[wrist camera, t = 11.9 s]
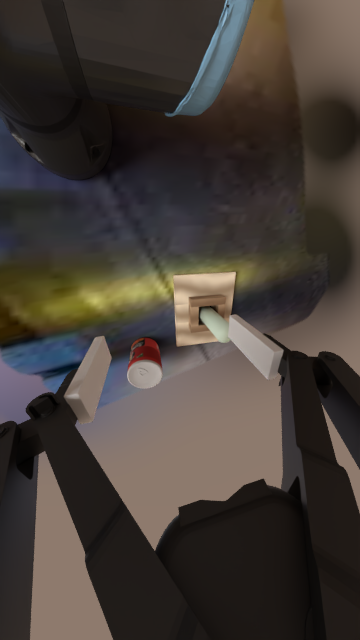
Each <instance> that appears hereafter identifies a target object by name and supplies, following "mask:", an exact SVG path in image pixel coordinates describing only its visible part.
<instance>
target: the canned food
mask: <svg viewBox="0 0 360 640" xmlns="http://www.w3.org/2000/svg"><path fill="white" fill-rule="evenodd" d="M162 374H163V372H162V364H161V357H160V351H159V346H158V344H157V343H156V342H155V341H154V340H153V339H151V338H140V339H138V340H136V341H135V342H134V343H133V345H132V347H131V353H130V359H129V365H128V373H127V376H128V380H129V382H130V383H131V384H132V385H133V386H135V387H138V388H151V387H153V386H155V385H157V384H158V383H159V382H160V381H161V379H162Z"/></svg>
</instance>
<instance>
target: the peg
mask: <svg viewBox="0 0 360 640" xmlns="http://www.w3.org/2000/svg"><path fill="white" fill-rule="evenodd" d="M199 318H200V319H201V320H202V321H203V322H204V324H205V325H206V326H207V327H208V328H209V330H210V331H211V332H212V333H213V335H214V336H215V337H216V338H217V339H218V340H219V341H220V342H222V343H226V342H229V341H230V340H231V339H230V338H229V337H228V331H229V323H228V322H227V321H226V320H225V319H224V318H223V317H221V316H220V315H219V314H218V313H217V312H215V311H214V310H213V309H212V308H211V307H209V306H202V307H199Z"/></svg>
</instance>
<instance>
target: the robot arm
mask: <svg viewBox="0 0 360 640" xmlns="http://www.w3.org/2000/svg"><path fill="white" fill-rule="evenodd" d="M253 3H254V0H0V117H1V118H2V120H3V122H4V123H5V125H6V127H7V128H8V130H9V131H10V133H11V134H12V136H13V137H14V138H15V140H16V141H17V142H18V143H19V144H20V146H21V147H22V148H23V149H24V150H25V151H26V152H27V153H28V154H29V155H30V156H31V157H32V158H34V159H35V160H36V161H37V162H38V163H40V164H41V165H42V166H43V167H45V168H46V169H48V170H49V171H51V172H52V173H54V174H56V175H58V176H61V177H64V178H67V179H72V180H83V179H87V178H90V177H93V176H94V175H96V174H97V173H99V172H100V171H101V170H102V169H103V167H104V166H105V164H106V163H107V161H108V159H109V156H110V153H111V148H112V139H113V134H112V124H111V118H110V114H109V110H108V106H107V104H113V105H119V106H125V107H132V108H138V109H144V110H150V111H157V112H163V113H164V114H165V115H166V116H169V117H172V116H175V115H177V114H178V115H189V116H197V115H200V114H202V113H203V112H204V111H205V110H206V109H208V108H209V107H210V106H211V105H212V103H213V102H214V100H215V99H216V98H217V96H218V94H219V92H220V91H221V89H222V87H223V85H224V83H225V81H226V78H227V76H228V74H229V72H230V69H231V67H232V64H233V62H234V59H235V57H236V54H237V51H238V49H239V46H240V43H241V40H242V37H243V34H244V31H245V28H246V25H247V22H248V19H249V16H250V13H251V9H252V6H253ZM228 337H229V338H230V339H231V340H232V341H233V343H234V344H235V345H236V346H237V347H238V348H239V349H240V350H241V351H242V352H243V353H244V354H245V356H246V357H247V358H248V359H249V360H250V361H251V362H252V363H253V364H254V366H255V367H256V368H257V369H258V370H259V371H260V372H261V373H262V374H263V375H264V376H265V378H266V379H267V380H269V379H273V378H276V377H277V373H280V375H282V376H281V379H280V382H279V386H280V385H281V412H282V451H283V478H282V485H281V489H279V488H276V487H273V486H269V485H267V484H266V482H265V481H264V479H261V480H258V481H255V482H252V483H249V484H246V485H244V486H243V487H241V489H239V490H238V491H237V492H236V493H235V494H233V495H232V496H231V497H230V498H229V499H228V500H226V501H209V500H199V501H196V502H193V503H190V504H187V505H184V506H181V507H179V515H178V516H177V517H175V518H174V519H173V520H172V522H171V523H170V524H169V525H168V527H167V528H166V529H165V531H164V533H163V535H162V536H161V538H160V540H159V543H158V545H157V547H156V550H155V551H154V549H153V548H152V546H151V545H150V543H149V542H148V540H147V538H146V537H145V535H144V534H143V532H142V531H141V529H140V527H139V526H138V524H137V523H136V521H135V520H134V518H133V516H132V515H131V513H130V512H129V510H128V509H127V507H126V505H125V504H124V503H123V501H122V499H121V498H120V496H119V494H118V493H117V491H116V490H115V488H114V487H113V485H112V483H111V482H110V481H109V479H108V477H107V476H106V474H105V472H104V471H103V469H102V468H101V466H100V465H99V463H98V462H97V460H96V458H95V457H94V455H93V454H92V452H91V451H90V449H89V447H88V446H87V444H86V442H85V441H84V439H83V438H82V436H81V435H80V433H79V432H78V430H77V429H76V427H75V424H76V421H77V419H78V421H79V423H80V424H84V423H89V422H92V421H93V419H94V416H95V412H96V409H97V405H98V402H99V399H100V395H101V392H102V389H103V385H104V382H105V378H106V375H107V372H108V368H109V365H110V362H111V355H110V352H109V350H108V347H107V344H106V341H105V338H104V336H100V337H95V339H94V341H93V343H92V345H91V346H90V348H89V350H88V352H87V354H86V356H85V358H84V359H83V361H82V363H81V365H80V367H79V369H75V370H72V371H71V372H70V373H69V374H68V375H67V376H66V377H65V379H64V381H63V382H62V384H61V387H59V389H58V391H57V392H56V394H54V393H52V392H48V393H44V394H42V395H40V396H38V397H36V398H35V399H33V400H32V401H31V402H30V403H29V404H28V406H27V408H26V413H27V414H28V415H29V416H30V418H31V419H29V420H27V421H25V422H23V423H21V424H18V425H17V423H16V422H14V421H8V422H5V423H3V424H1V425H0V640H30V622H31V603H32V601H31V600H32V581H33V561H34V539H35V519H36V499H37V477H38V457H39V456H38V455H39V454H40V453H42V452H44V451H45V452H46V454H47V457H48V459H49V462H50V464H51V467H52V469H53V472H54V474H55V477H56V479H57V482H58V485H59V487H60V490H61V492H62V495H63V497H64V500H65V502H66V505H67V507H68V510H69V512H70V515H71V517H72V520H73V523H74V525H75V528H76V530H77V533H78V535H79V538H80V540H81V543H82V545H83V548H84V551H85V563H86V568H87V571H88V574H89V577H90V579H91V582H92V584H93V587H94V590H95V592H96V595H97V598H98V600H99V603H100V606H101V608H102V611H103V613H104V616H105V619H106V621H107V624H108V627H109V629H110V632H111V635H112V637H113V640H360V513H359V510H358V506H357V503H356V500H355V496H354V493H353V490H352V486H351V483H350V480H349V477H348V474H347V472H346V470H345V469H344V468H343V467H342V466H340V465H339V464H338V463H337V460H336V457H335V453H334V449H333V446H332V442H331V438H330V434H329V431H328V427H327V423H326V419H325V416H324V412H323V408H322V405H323V406H324V408H325V410H326V412H327V414H328V415H329V417H330V419H331V421H332V422H333V424H334V426H335V428H336V429H337V431H338V433H339V434H340V436H341V438H342V439H343V441H344V443H345V445H346V447H347V448H348V450H349V452H350V454H351V455H352V457H353V459H354V460H355V462H356V464H357V466H358V467H359V469H360V377H359V375H358V374H357V373H355V371H354V370H353V369H352V368H351V367H350V366H349V365H348V364H347V363H346V362H345V361H344V360H343V359H342V358H341V357H340V356H338V355H336V354H334V353H331V352H326V351H325V352H324V351H322V352H319V355H318V357H308V356H307V355H306V354H304V353H302V352H298V351H290V350H289V349H288V348H286V347H285V346H284V345H282V344H281V343H280V342H278V341H277V340H275V339H274V338H273V337H271V336H269V335H267V334H265V333H264V334H262V333H260V332H259V331H258V330H256V329H255V328H254V327H252V326H251V325H250V324H248V323H247V322H246V321H244V320H243V319H242V318H240V317H239V316H238V315H236V314H235V315H230V317H229V331H228ZM321 403H322V404H321Z"/></svg>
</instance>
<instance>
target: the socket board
mask: <svg viewBox="0 0 360 640" xmlns="http://www.w3.org/2000/svg"><path fill="white" fill-rule="evenodd" d="M235 275H236V272H218V273H200V274H182V275H173V278H174V302H175V326H176V345H177V347H178V346H186V345H193V344H200V343H208V342H215V341H219V340H218V339H217V338H216V337H215V336H214V335H213V333H212V332H211V331H210V330H209V328H208V327H207V326H206V325H205V324H204V322H203V321H202V320H201V319H199V307H202V306H212V309H213V310H214V311H215V312H217V313H218V314H219V315H220V316H221V317H223V318H224V319H225V320H226V321H227V322H228V323H229V317H230V315H231V310H232V302H233V293H234V284H235Z"/></svg>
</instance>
